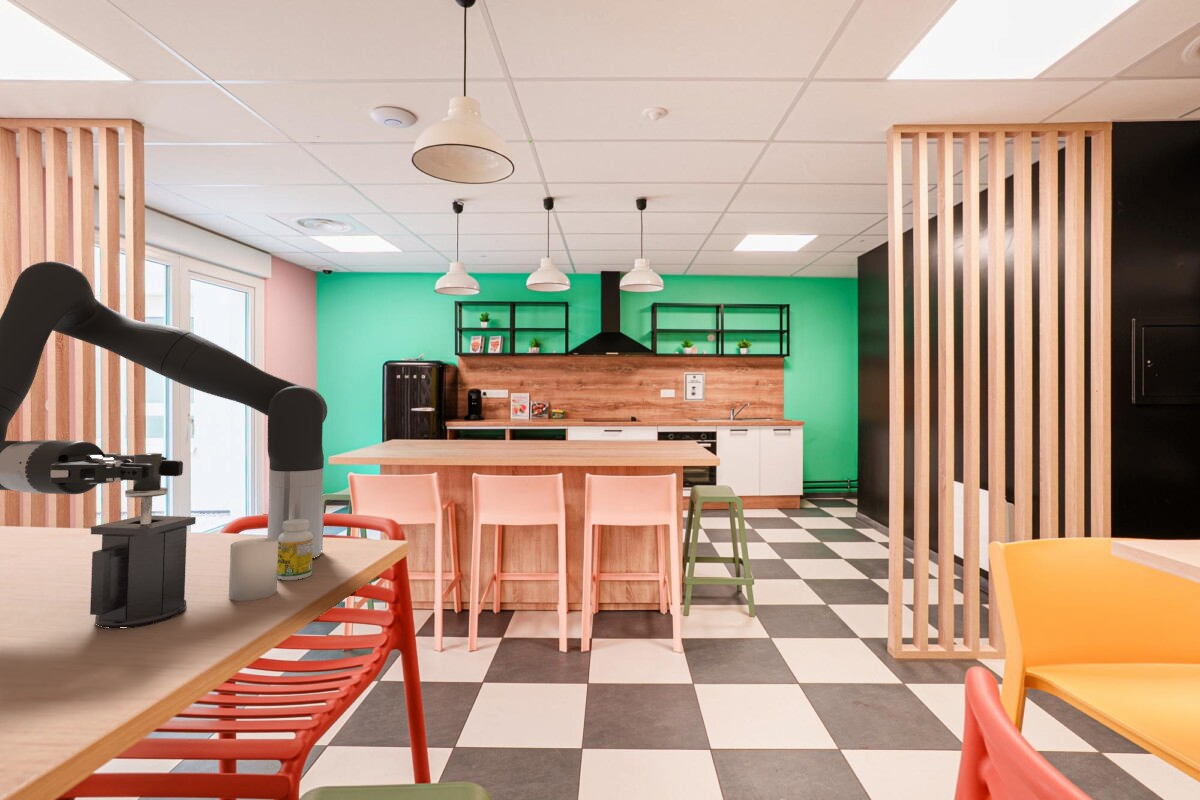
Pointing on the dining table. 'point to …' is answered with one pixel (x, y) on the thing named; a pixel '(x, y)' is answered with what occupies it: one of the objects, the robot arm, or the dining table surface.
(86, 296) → the robot arm
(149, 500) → the plunger
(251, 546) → the white rounded cylinder
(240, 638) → the dining table surface
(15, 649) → the dining table surface
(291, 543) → the supplement bottle
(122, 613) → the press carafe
